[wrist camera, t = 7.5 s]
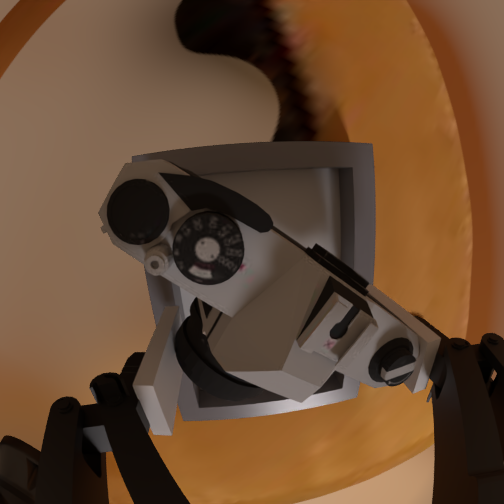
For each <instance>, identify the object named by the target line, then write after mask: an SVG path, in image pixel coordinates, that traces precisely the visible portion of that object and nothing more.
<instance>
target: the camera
mask: <svg viewBox="0 0 504 504" xmlns="http://www.w3.org/2000/svg"><path fill="white" fill-rule="evenodd" d="M99 216H100V218H101V220H102V222H103V224H104V225H103V226H102V227H101V230H102V232H103V233H106V232H107V233H108V235H109V237H110V239H111V241H112V243H113V244H114V245H116V246H117V247H118V248H120V249H121V250H123V251H124V252H126V253H127V254H129V255H131V256H132V257H133V258H135V259H137V260H138V261H139V262H141V263H143V264H144V266H145V269H146V270H147V272H148V273H150V274H152V275H154V276H157V275H161V276H163V277H164V278H166V279H168V280H169V281H171V282H173V283H174V284H176V285H177V286H179V287H181V288H182V289H184V290H186V291H187V292H189V293H191V294H192V295H194V296H196V298H195V299H194V301H193V302H192V304H191V306H190V316H188V317H187V318H186V319H185V320H184V321H183V323H182V325H181V326H180V328H179V329H178V331H177V333H176V337H175V341H176V358H177V361H178V363H179V365H180V367H181V369H182V370H183V372H184V373H185V374H186V375H187V377H188V378H189V379H190V380H191V381H192V382H193V383H194V384H196V385H197V386H198V387H200V388H201V389H202V390H204V391H205V392H207V393H209V394H211V395H212V396H215V397H217V398H220V399H223V400H227V401H242V400H245V399H247V398H254V397H256V396H259V395H260V394H261V393H262V392H263V391H264V390H265V389H266V390H269V391H271V392H274V393H276V394H279V395H281V396H284V397H286V398H289V399H292V400H294V401H297V402H300V403H302V402H304V401H305V400H306V399H307V398H309V397H310V396H311V395H312V394H313V393H315V392H316V391H317V390H318V389H319V388H321V387H322V385H323V384H324V383H325V382H326V381H327V379H328V378H329V377H330V376H331V374H332V373H333V372H334V371H335V370H336V371H338V372H340V373H342V374H344V375H346V376H349V377H351V378H353V379H355V380H358V381H360V382H362V383H364V384H367V385H369V386H371V387H374V388H378V387H383V386H397V385H399V384H401V383H403V382H404V381H406V380H407V379H408V378H409V377H410V376H411V374H412V373H413V371H414V370H413V369H414V367H415V361H416V359H417V358H418V356H419V342H418V335H416V334H415V333H414V332H413V331H412V330H410V329H409V328H408V327H407V326H406V325H405V324H403V323H402V322H401V320H400V319H399V318H397V317H396V316H395V315H393V314H392V313H391V312H389V311H388V310H387V309H385V308H384V307H383V306H382V305H380V304H379V303H378V302H377V301H375V300H374V299H373V298H372V297H371V296H369V295H368V293H369V291H368V290H367V289H366V287H367V286H368V285H369V283H370V282H369V281H367V280H366V279H365V278H363V277H362V276H361V275H360V274H358V273H357V272H356V271H354V270H353V269H352V268H350V267H349V266H348V265H346V264H345V263H344V262H342V261H341V260H340V259H338V258H337V257H336V256H334V255H333V254H332V253H330V252H329V251H327V250H326V249H324V248H323V247H321V246H320V245H318V244H317V243H316V244H315V245H314V246H313V248H312V249H311V248H310V247H307V248H305V247H304V246H302V245H301V244H299V243H298V242H297V241H295V240H294V239H292V238H291V237H289V236H288V235H287V234H285V233H284V232H282V231H281V230H279V229H278V228H276V227H275V226H273V221H272V219H271V217H270V215H269V214H268V213H267V212H265V211H264V210H263V209H262V208H261V207H260V206H258V205H257V204H256V203H254V202H252V201H251V200H249V199H247V198H246V197H244V196H243V195H241V194H239V193H238V192H236V191H233V190H231V189H229V188H227V187H225V186H223V185H221V184H218V183H216V182H214V181H212V180H208V179H203V178H201V177H200V176H198V175H197V174H195V173H193V172H192V171H190V170H189V169H184V168H182V167H179V166H177V165H176V164H174V163H173V162H167V161H165V160H162V159H158V160H149V161H140V162H133V163H126V164H125V165H124V166H123V168H122V170H121V171H120V173H119V175H118V177H117V178H116V180H115V182H114V184H113V186H112V187H111V189H110V191H109V193H108V195H107V197H106V199H105V201H104V203H103V205H102V207H101V208H100V211H99Z"/></svg>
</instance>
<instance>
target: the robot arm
mask: <svg viewBox="0 0 504 504" xmlns="http://www.w3.org/2000/svg"><path fill="white" fill-rule="evenodd" d="M366 289H367V290H368V291H369V293H368V295H369V296H371V297H372V298H373V299H374V300H375V301H377V302H378V303H379V304H380V305H382V306H383V307H384V308H385V309H387V310H388V311H389V312H391V313H392V314H393V315H395V316H396V317H397V318H399V319H400V320H401V322H402V323H403V324H405V325H406V326H407V327H408V328H409V329H410V330H412V331H413V332H414V333H415V334H416V335H418V342H419V356H418V358H417V359H416V361H415V367H414V369H413V370H414V371H413V373H412V374H411V376H410V377H409V378H408V379H407V380H406V381H404V384H405V385H406V386H407V387H408V388H409V390H410V391H411V392H412V393H415V392H418V391H420V390H423V389H425V388H426V386H427V383H428V380H429V378H430V379H431V380H432V381H433V385H432V388H431V390H430V393H429V396H428V398H427V402H429V400H430V398H431V397H432V404H433V417H434V442H435V463H434V487H433V498H432V504H504V462H503V461H504V340H503V338H502V337H500V336H499V335H497V334H495V333H494V334H493V333H487V334H484V335H483V336H482V339H481V342H480V344H475V345H471V344H470V343H469V342H468V341H466V340H464V339H462V338H451V339H449V338H448V337H446V336H445V335H444V334H443V333H441V332H440V331H439V330H437V329H436V328H435V327H434V326H432V325H430V323H428V322H427V321H426V320H424V319H423V318H420V317H418V316H413V315H411V314H410V313H409V312H407V311H406V310H405V309H404V308H402V307H401V306H400V305H398V304H397V303H396V302H394V301H393V300H392V299H390V298H389V297H388V296H386V295H385V294H384V293H382V292H381V291H380V290H378V289H377V288H376V287H374V286H373V285H372V284H370V285H368V286H367V287H366ZM181 325H182V320H181V314H180V309H179V306H168V307H165V309H164V311H163V313H162V315H161V318H160V320H159V322H158V324H157V327H156V329H155V331H154V334H153V336H152V338H151V341H150V343H149V345H148V348H147V350H146V352H135V353H133V354H132V355H131V356H130V357H129V358H128V359H127V361H126V363H125V365H124V367H123V369H122V372H121V374H120V375H119V374H117V373H111V372H109V373H103V374H101V375H98V376H97V377H95V378H94V379H93V380H92V381H91V383H90V390H91V392H92V394H93V396H94V398H95V400H96V402H97V403H96V404H90V405H82V406H81V405H80V403H79V402H78V400H77V399H75V398H73V397H62V398H60V399H58V400H56V401H55V402H54V403H53V404H52V406H51V408H50V412H49V417H48V420H47V425H46V430H45V434H44V439H43V444H42V449H41V452H40V451H39V450H37V449H35V448H33V447H32V446H31V445H29V444H27V443H25V442H24V441H22V440H20V439H17V438H15V437H12V436H4V437H3V439H2V441H1V442H0V504H109V499H108V487H107V472H106V452H108V451H112V452H113V455H114V457H115V460H116V463H117V465H118V468H119V470H120V473H121V475H122V478H123V480H124V482H125V485H126V487H127V489H128V491H129V494H130V496H131V498H132V500H133V502H134V504H190V503H189V501H188V500H187V498H186V497H185V495H184V494H183V492H182V491H181V489H180V488H179V486H178V485H177V483H176V482H175V480H174V479H173V477H172V475H171V474H170V472H169V470H168V469H167V467H166V465H165V464H164V462H163V460H162V459H161V457H160V455H159V453H158V451H157V450H156V448H155V446H154V444H153V442H152V440H151V438H150V437H149V435H148V432H149V428H151V430H152V432H153V434H154V435H172V433H173V426H174V420H175V414H176V408H177V402H178V396H179V390H180V385H181V379H182V374H183V370H182V369H181V367H180V365H179V363H178V361H177V358H176V341H175V337H176V333H177V331H178V329H179V328H180V326H181ZM494 370H495V371H496V372H497V375H496V377H495V379H494V381H493V380H492V378H491V376H492V374H493V371H494Z"/></svg>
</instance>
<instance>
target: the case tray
mask: <svg viewBox="0 0 504 504" xmlns="http://www.w3.org/2000/svg"><path fill="white" fill-rule="evenodd" d="M158 159H162V160H165V161H167V162H173V163H174V164H176V165H177V166H179V167H182V168H184V169H189V170H190V171H192V172H193V173H195V174H197V175H198V176H200V177H201V178H203V179H208V180H212V181H214V182H216V183H218V184H221V185H223V186H225V187H227V188H229V189H231V190H233V191H236V192H238V193H239V194H241V195H243V196H244V197H246V198H247V199H249V200H251V201H252V202H254V203H256V204H257V205H258V206H260V207H261V208H262V209H263V210H264V211H265V212H267V213H268V214H269V215H270V217H271V219H272V221H273V226H275V227H276V228H278V229H279V230H281V231H282V232H284V233H285V234H287V235H288V236H289V237H291V238H292V239H294V240H295V241H297V242H298V243H299V244H301V245H302V246H304V247H305V248H307V247H310V248H311V249H312V248H313V246H314V245H315V244H316V243H317V244H318V245H320V246H321V247H323V248H324V249H326V250H327V251H329V252H330V253H332V254H333V255H334V256H336V257H337V258H338V259H340V260H341V261H342V262H344V263H345V264H346V265H348V266H349V267H350V268H352V269H353V270H354V271H356V272H357V273H358V274H360V275H361V276H362V277H363V278H365V279H366V280H367V281H369V282H370V283H369V285H370V284H372V285H373V277H374V260H375V175H374V158H373V145H372V144H369V143H353V142H324V141H285V142H258V143H257V142H256V143H239V144H226V145H215V146H214V145H213V146H203V147H194V148H185V149H177V150H170V151H162V152H157V153H150V154H143V155H137V156H132V163H133V162H140V161H149V160H158ZM144 268H145V266H144ZM145 274H146V279H147V285H148V290H149V295H150V300H151V305H152V309H153V314H154V318H155V323H156V327H157V324H158V322H159V320H160V318H161V315H162V313H163V311H164V309H165V307H168V306H179V309H180V314H181V320H182V323H183V321H184V320H185V319H186V318H187V317H188V316H190V306H191V304H192V302H193V301H194V299H195V298H196V296H194V295H192V294H191V293H189V292H187V291H186V290H184V289H182V288H181V287H179V286H177V285H176V284H174V283H173V282H171V281H169V280H168V279H166V278H164V277H163V276H161V275H157V276H154V275H152V274H150V273H148V272H147V270H146V269H145ZM359 385H360V381H358V380H355V379H353V378H351V377H349V376H346V375H344V374H342V373H340V372H338V371H336V370H335V371H334V372H333V373H332V374H331V376H330V377H329V378H328V379H327V381H326V382H325V383H324V384H323V385H322V387H321V388H319V389H318V390H317V391H316V392H315V393H313V394H312V395H311V396H310V397H309V398H307V399H306V400H305V401H304V402H302V403H300V402H297V401H294V400H292V399H289V398H286V397H284V396H281V395H279V394H276V393H274V392H271V391H269V390H266V389H265V390H264V391H263V392H262V393H261V394H260V395H259V396H256V397H254V398H247V399H245V400H242V401H227V400H223V399H220V398H217V397H215V396H212V395H211V394H209V393H207V392H205V391H204V390H202V389H201V388H200V387H198V386H197V385H196V384H194V383H193V382H192V381H191V380H190V379H189V378H188V377H187V375H186V374H185V373H184V372H183V374H182V379H181V385H180V390H179V396H178V402H177V403H178V406H179V409H180V412H181V415H182V418H183V421H202V420H222V419H235V418H246V417H255V416H264V415H271V414H278V413H285V412H291V411H297V410H302V409H308V408H313V407H318V406H322V405H327V404H331V403H336V402H340V401H344V400H348V399H352V398H355V397H357V395H358V390H359Z"/></svg>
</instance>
